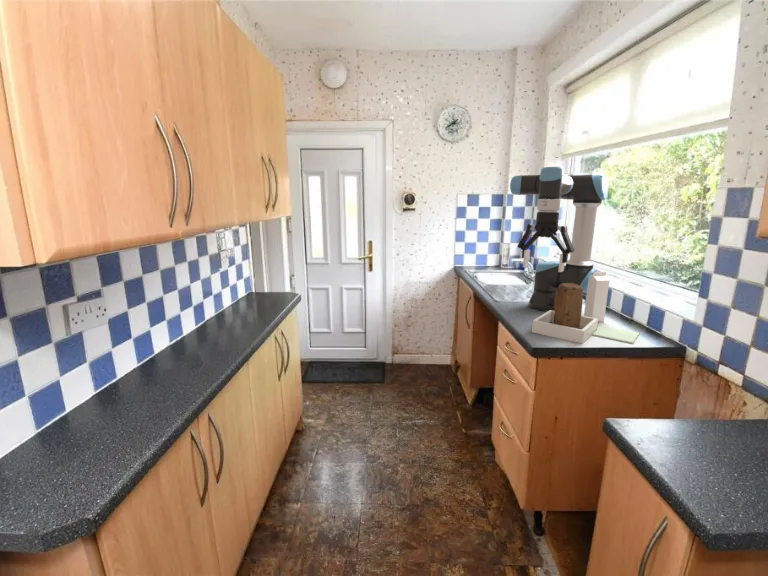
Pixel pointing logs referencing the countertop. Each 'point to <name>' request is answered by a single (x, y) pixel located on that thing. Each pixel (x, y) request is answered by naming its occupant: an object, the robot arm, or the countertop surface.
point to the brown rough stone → (568, 305)
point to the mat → (616, 334)
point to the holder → (564, 328)
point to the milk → (597, 296)
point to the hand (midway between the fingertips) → (542, 269)
